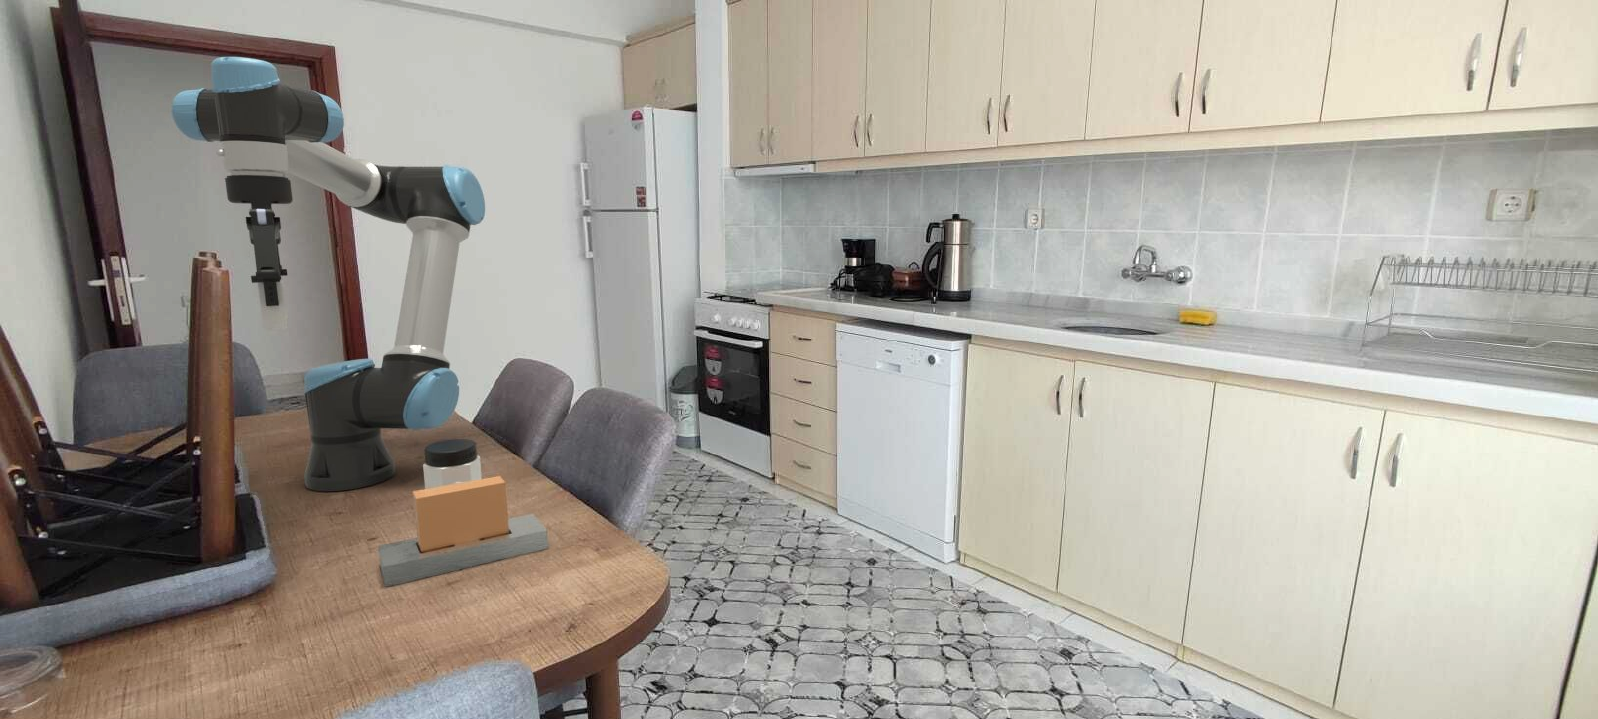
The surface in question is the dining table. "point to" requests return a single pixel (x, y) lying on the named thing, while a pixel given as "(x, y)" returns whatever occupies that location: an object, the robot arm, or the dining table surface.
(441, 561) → the grey slotted block
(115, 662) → the dining table surface
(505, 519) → the tan notched block
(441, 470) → the jar
